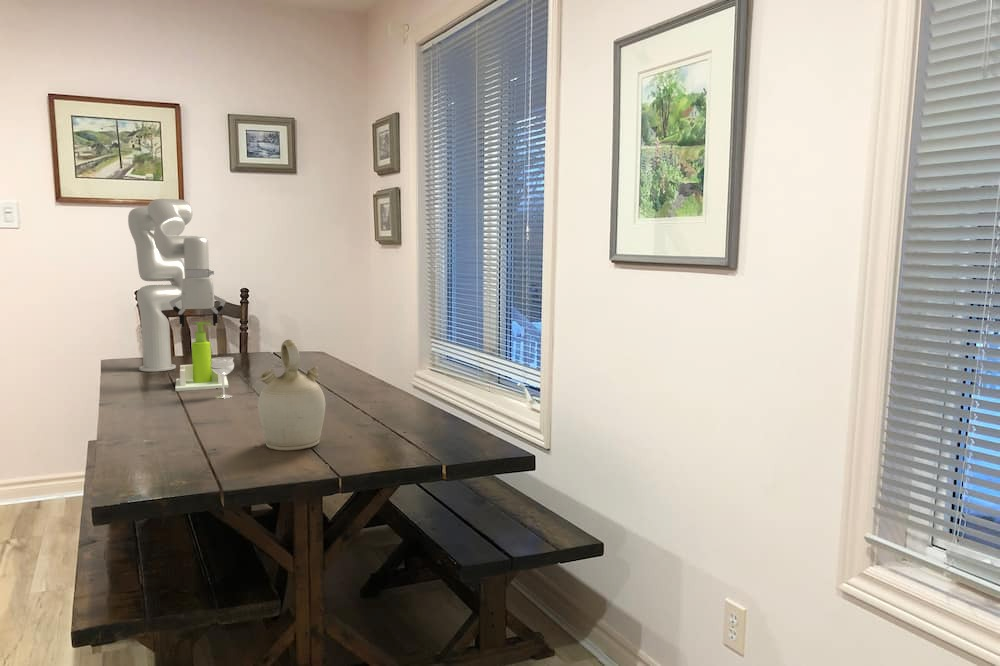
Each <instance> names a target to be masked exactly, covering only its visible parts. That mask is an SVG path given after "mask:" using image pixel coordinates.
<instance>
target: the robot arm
mask: <svg viewBox="0 0 1000 666" xmlns="http://www.w3.org/2000/svg"><path fill="white" fill-rule="evenodd" d="M127 217H128V218H127V222H128V223H127V224H128V229H129V231H130V236H132V239H133V242H134V244H135V249H136V261H137V267H138V275H139V277H140V279H141V280H142V281H144V282H170V284H150V285H149V284H148V285H145V286H141V287H140V288H138V290H137V293H136V299H137V301H136V302H137V305H138V309H139V314H140V315H139V316H140V326H141V328H140V329H141V339H142V341H141V342H142V343H141V344H142V361H143V362H142V363H143V364H142V365H140V366H139V367H138V370H139V371H140V372H146V373H147V372H154V373H155V372H164V371H171V370H175V369H176V368H177V365H176V364H173V363H172V353H171V352H172V351H171V332H170V331H171V330H170V322H169V321H170V320H169V319H168V318H167V316H166V315H165V314H164V313H163V312H162V311H171V310H172V311H175V312H176V313H177V314H178V315H179V325H182V326H181V327H182V328H184V327H185V314H184V312H186V310H201V309H203V310H204V309H205V310H207V309H209V310H211V311H212V312H213V313H212V323H213V324H212V325H213V326H214V327H216V326H217V325H216V324H218V316H219V315H218V314H219V313H220V311H222V310H223V308H224V306H225V304H226V303H227V300H225V299H223V298H221V297H220V296H217V295H215V290H214V289H215V288H214V283H213V279H212V278H210V277H211V276H213V275H215V273H214V272H215V271H214V270H210V260H209V258H210V257H209V253H210V252H209V241H208V238H207V237H206V236H205V237H204V236H197V235H181V234H183V232H184V230H185V227H186V225H188V224H190V222H191V221H192V218H193V208H192V206H191V204H190V203H189V202H188V201H186V200H185V199H175V198H157V199H156V198H155V199H153V200H151V201H150V202H149V203H148V205H147V206H146V207H145V206H142V207H135V208H132V209H131V210H130V211H129V213H128V216H127ZM182 259H183V260H182ZM215 301H217V302H219V303H220V304H219V305H218V307H215Z"/></svg>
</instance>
